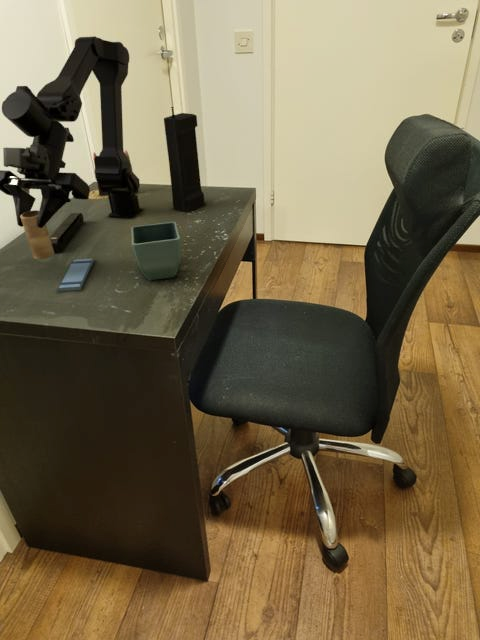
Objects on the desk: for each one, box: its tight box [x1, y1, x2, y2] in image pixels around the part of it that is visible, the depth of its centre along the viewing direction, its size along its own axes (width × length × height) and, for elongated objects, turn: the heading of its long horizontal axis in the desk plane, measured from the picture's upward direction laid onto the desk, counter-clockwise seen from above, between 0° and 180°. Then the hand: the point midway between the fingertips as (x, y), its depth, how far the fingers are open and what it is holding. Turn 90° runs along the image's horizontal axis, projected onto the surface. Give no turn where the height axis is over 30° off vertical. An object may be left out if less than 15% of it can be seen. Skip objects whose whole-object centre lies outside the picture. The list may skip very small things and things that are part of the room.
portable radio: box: [163, 106, 205, 212], centre depth 118 cm, size 8×6×25 cm
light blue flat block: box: [58, 258, 94, 292], centre depth 95 cm, size 4×12×1 cm, turn 3°
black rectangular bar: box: [49, 212, 84, 253], centre depth 111 cm, size 18×3×3 cm, turn 179°
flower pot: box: [130, 221, 181, 281], centre depth 91 cm, size 9×9×9 cm
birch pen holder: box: [20, 209, 55, 260], centre depth 91 cm, size 4×4×9 cm
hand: (29, 226), depth 88 cm, fingers closed on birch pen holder, 4 cm apart
